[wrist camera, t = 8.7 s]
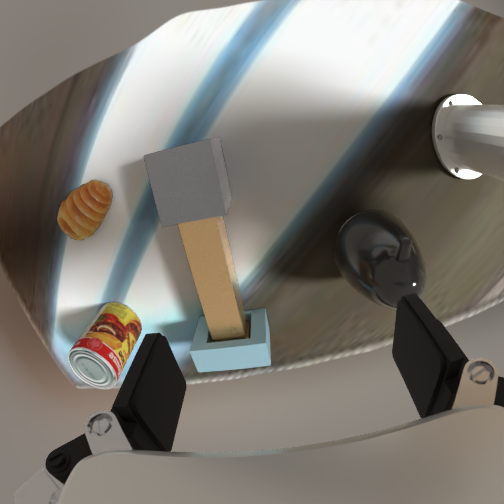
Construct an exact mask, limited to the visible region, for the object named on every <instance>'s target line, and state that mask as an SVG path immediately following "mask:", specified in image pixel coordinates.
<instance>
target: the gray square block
mask: <svg viewBox="0 0 504 504" xmlns="http://www.w3.org/2000/svg"><path fill="white" fill-rule="evenodd" d="M144 159H145V163H146V167H147V172H148V176H149V180H150V184H151V188H152V192H153V196H154V200H155V203H156V207H157V211H158V215H159V218H160V222H161V225H162V227H166V226H171V225H176V224H181V223H186V222H191V221H197V220H202V219H207V218H213V217H218V216H223V215H227V212H228V210H229V207H230V204H231V202H232V195H231V191H230V186H229V181H228V176H227V171H226V166H225V162H224V157H223V152H222V147H221V142H220V137H218V138H212V139H207V140H203V141H198V142H194V143H190V144H186V145H182V146H178V147H174V148H170V149H166V150H162V151H159V152H155V153H151V154H148V155H144Z"/></svg>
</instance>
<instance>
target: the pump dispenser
mask: <svg viewBox="0 0 504 504" xmlns="http://www.w3.org/2000/svg"><path fill="white" fill-rule="evenodd" d="M334 259H335V263H336V266H337V268H338V270H339V272H340V273H341V275H342V276H343V277H344V279H345V280H346V281H347V282H348V283H349V284H350V285H351V286H352V287H353V288H354V289H355V290H356V291H357V292H358V293H360V294H361V295H362V296H364V297H365V298H367V299H368V300H370V301H372V302H374V303H376V304H378V305H380V306H383V307H386V308H391V309H397V302H398V300H401V297H402V296H404V295H408V294H412V293H416V294H417V295H418V296H419V298H420V297H421V295H422V294H423V291H424V289H425V284H426V268H425V263H424V259H423V256H422V253H421V251H420V249H419V246H418V244H417V242H416V240H415V238H414V237H413V235H412V234H411V232H410V231H409V229H408V228H407V227H406V226H405V224H404V223H403V222H402V221H401V220H400V219H399V218H397V217H396V216H395V215H393V214H392V213H390V212H387V211H384V210H379V209H372V210H366V211H363V212H360V213H358V214H356V215H354V216H352V217H351V218H350V219H348V220H347V221H346V222H345V224H344V225H343V226H342V228H341V229H340V231H339V233H338V235H337V238H336V241H335V245H334Z"/></svg>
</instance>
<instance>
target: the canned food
mask: <svg viewBox="0 0 504 504" xmlns="http://www.w3.org/2000/svg"><path fill="white" fill-rule="evenodd" d="M141 330H142V325H141V321H140V319H139V317H138V316H137V314H136V313H135V312H134V311H133V310H132V309H131V308H129V307H128V306H127V305H124V304H122V303H118V302H109V303H106V304H105V305H104V306H103V307H102V308H101V309H100V310H99V312H98V313H97V314H96V316H95V317H94V318H93V320H92V321H91V322H90V324H89V325H88V326H87V328H86V329H85V331H84V332H83V333H82V335H81V336H80V337H79V339H78V340H77V342H76V343H75V344H74V346H73V347H72V349H71V350H70V352H69V354H68V362H69V365H70V367H71V369H72V370H73V372H74V373H75V374H76V375H77V376H78V377H79V378H80V379H81V380H83V381H84V382H86V383H87V384H89V385H91V386H93V387H96V388H99V389H110V388H112V387H114V386H115V384H116V383H117V380H118V378H119V376H120V374H121V372H122V370H123V368H124V366H125V364H126V362H127V360H128V358H129V356H130V354H131V352H132V350H133V348H134V346H135V344H136V342H137V340H138V338H139V336H140V334H141Z"/></svg>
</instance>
